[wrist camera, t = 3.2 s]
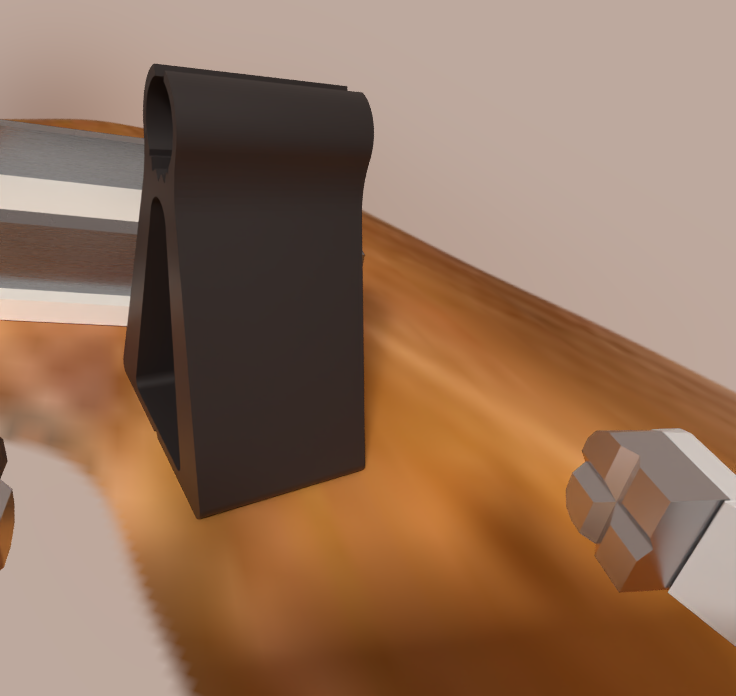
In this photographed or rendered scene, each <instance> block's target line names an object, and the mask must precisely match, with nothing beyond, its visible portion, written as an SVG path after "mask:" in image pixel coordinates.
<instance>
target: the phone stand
mask: <svg viewBox="0 0 736 696" xmlns="http://www.w3.org/2000/svg"><path fill="white" fill-rule="evenodd" d="M143 123H144V174H143V185H142V194H141V203H140V212H139V221H138V230H137V240H136V249H135V258H134V267H133V276H132V285H131V294H130V304H129V313H128V322H127V331H126V340H125V349H124V368H125V371H126V374H127V376H128V378H129V380H130V382H131V384H132V386H133V388H134V390H135V392H136V394H137V396H138V398H139V400H140V403H141V405H142V407H143V409H144V411H145V413H146V415H147V417H148V419H149V421H150V423H151V425H152V427H153V429H154V431H156V432H157V436H158V440H159V442H160V444H161V446H162V448H163V450H164V452H165V454H166V456H167V458H168V460H169V463H170V465H171V467H172V469H173V471H174V473H175V475H176V477H177V479H178V481H179V483H180V485H181V487H182V489H183V491H184V494H185V496H186V498H187V500H188V502H189V504H190V506H191V508H192V510H193V512H194V514H195V516H196V518H197V519H200V518H204V517H207V516H210V515H214V514H217V513H220V512H224V511H227V510H230V509H234V508H237V507H240V506H244V505H247V504H250V503H254V502H257V501H260V500H264V499H267V498H270V497H274V496H277V495H280V494H284V493H287V492H290V491H294V490H297V489H300V488H304V487H307V486H310V485H314V484H317V483H320V482H324V481H327V480H330V479H334V478H337V477H340V476H344V475H347V474H350V473H354V472H357V471H360V470H363V469H364V467H365V433H364V352H363V271H362V198H363V188H364V182H365V177H366V173H367V169H368V165H369V162H370V158H371V154H372V149H373V141H374V126H373V117H372V112H371V108H370V105H369V103H368V100H367V98H366V97H365V95H364V94H363V93H361V92H352V91H347V86H339V85H331V84H322V83H313V82H305V81H297V80H289V79H279V78H272V77H263V76H255V75H246V74H238V73H229V72H220V71H212V70H204V69H195V68H187V67H178V66H169V65H161V64H153V65H152V66H151V68H150V70H149V72H148V75H147V79H146V84H145V90H144V101H143Z"/></svg>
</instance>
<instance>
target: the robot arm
mask: <svg viewBox="0 0 736 696" xmlns="http://www.w3.org/2000/svg"><path fill="white" fill-rule="evenodd" d="M582 453H583V456H584V459H585V463H583V464H582V465H581V466H580V467H579V468H577V469H576V470H575V471H574V472H573V473H572V475H571V478H570V480H569V483H568V485H567V488H566V507H567V509H568V512H569V515H570V518H571V520H572V522H573V524H574V525H575V527H576V528H577V530H578V531H579V533H581V534H582V535H584V536H585V537H586V538H588V539H589V540H591V541H592V542H594V543H595V557H596V559H597V560H598V562H599V563H600V565H601V566H602V568H603V569H604V571H605V572H606V574H607V575H608V576H609V578H610V579H611V581H612V582H613V584H614V585H615V587H616V588H617V590H618V591H619V593H620V592H637V591H653V590H669V591H668V593H669V594H670V595H672V596H673V597H674V598H675V599H677V600H678V601H679V602H680V603H682V604H683V605H684V606H685V607H687V608H688V609H689V610H690V611H692V612H693V613H694V614H695V615H697V616H698V617H699V618H700V619H702V620H703V621H704V622H705V623H707V624H708V625H709V626H710V627H712V628H713V629H714V630H715V631H717V632H718V633H719V634H720V635H722V636H723V637H724V638H725V639H727V640H728V641H729V642H730V643H732V644H733V645H734V646H735V647H736V475H735V474H734V473H733V472H732V471H731V470H730V469H729V468H728V467H727V466H726V465H724V464H723V463H722V462H721V461H720V460H719V459H718V458H717V457H716V456H715V455H714V454H713V453H712V452H711V451H710V450H708V449H707V448H706V447H705V446H704V445H703V444H702V443H701V442H700V441H699V440H698V439H697V438H696V437H695V436H694V435H692V434H691V433H689V432H687V431H685V430H682V429H680V428H674V429H652V430H619V431H595V432H594V433H593V434H592V435H591V436H590V437H589V438H588V439H587V441H586V443H585V446H584V448H583V450H582ZM6 463H7V456H6V451H5V447H4V442H3V439H2V438H1V437H0V478H1V476H2V473H3V471H4V468H5V466H6ZM13 529H14V498H13V492H12V488H10V487H9V486H8V485H7V484H5V483H4V482H3V481H2V480H0V570H1V569H2V568H4V565H5V562H6V559H7V556H8V553H9V550H10V547H11V540H12V535H13Z"/></svg>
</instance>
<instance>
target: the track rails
mask: <svg viewBox="0 0 736 696" xmlns="http://www.w3.org/2000/svg"><path fill="white" fill-rule="evenodd" d="M0 174H1V175H10V176H19V177H28V178H37V179H46V180H55V181H65V182H74V183H83V184H92V185H101V186H110V187H119V188H128V189H137V190H142V185H143V174H144V138H137V137H129V136H122V135H114V134H107V133H99V132H91V131H84V130H76V129H69V128H61V127H54V126H46V125H39V124H31V123H24V122H16V121H9V120H1V119H0ZM137 230H138V222H133V221H123V220H112V219H102V218H92V217H81V216H71V215H60V214H50V213H40V212H29V211H19V210H8V209H0V288H10V289H26V290H42V291H57V292H73V293H89V294H105V295H120V296H130V294H131V285H132V276H133V267H134V258H135V249H136V240H137ZM364 256H365V255H364V253H363V251H362V267H363V261H364Z"/></svg>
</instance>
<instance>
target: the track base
mask: <svg viewBox="0 0 736 696" xmlns="http://www.w3.org/2000/svg"><path fill="white" fill-rule="evenodd" d="M141 194H142V190H137V189H128V188H119V187H110V186H101V185H92V184H83V183H74V182H65V181H55V180H46V179H37V178H28V177H19V176H10V175H1V174H0V209H8V210H19V211H29V212H40V213H50V214H60V215H71V216H81V217H92V218H102V219H112V220H123V221H133V222H138V221H139V212H140V203H141ZM129 304H130V296H120V295H105V294H89V293H73V292H57V291H42V290H26V289H10V288H0V320H16V321H36V322H56V323H76V324H96V325H116V326H127V322H128V313H129Z"/></svg>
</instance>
